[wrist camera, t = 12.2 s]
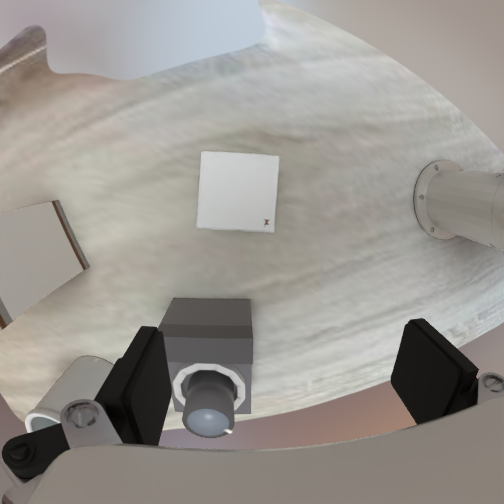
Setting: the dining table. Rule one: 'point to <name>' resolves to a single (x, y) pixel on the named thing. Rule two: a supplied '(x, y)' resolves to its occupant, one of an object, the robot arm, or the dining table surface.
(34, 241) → the slotted white tower
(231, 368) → the camera body
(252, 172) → the supplement box
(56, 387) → the utensil holder
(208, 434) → the lens
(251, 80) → the dining table surface
